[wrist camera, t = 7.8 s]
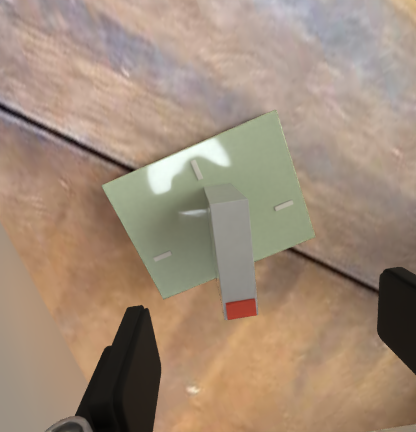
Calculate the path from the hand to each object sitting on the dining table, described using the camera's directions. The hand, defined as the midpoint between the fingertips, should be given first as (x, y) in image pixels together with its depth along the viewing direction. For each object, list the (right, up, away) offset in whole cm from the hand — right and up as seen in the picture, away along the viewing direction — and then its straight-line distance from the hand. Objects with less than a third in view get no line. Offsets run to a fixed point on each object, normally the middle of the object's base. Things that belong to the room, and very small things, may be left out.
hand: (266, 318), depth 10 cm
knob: (-1, +3, +9) cm, 10 cm away
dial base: (-2, +4, +12) cm, 13 cm away
